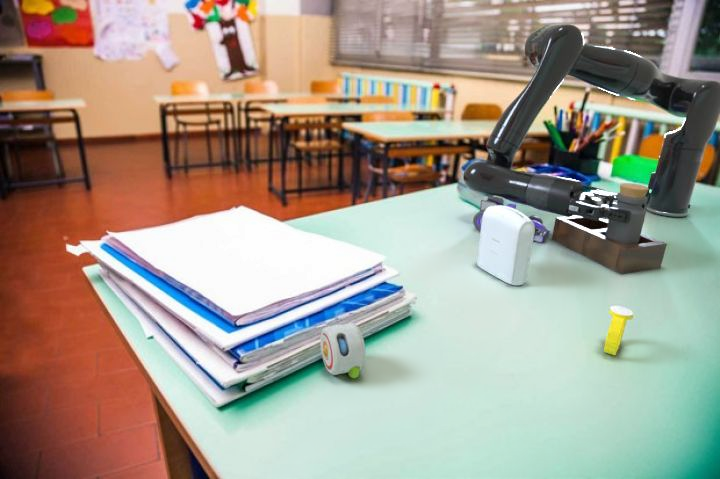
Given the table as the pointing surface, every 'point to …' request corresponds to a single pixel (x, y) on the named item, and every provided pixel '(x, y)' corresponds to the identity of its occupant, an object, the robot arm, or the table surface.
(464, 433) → the table surface
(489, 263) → the photo printer
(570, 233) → the box
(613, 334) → the white topped yellow dowel
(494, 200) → the toy race car
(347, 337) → the roller toy
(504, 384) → the table surface
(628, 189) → the bottle
